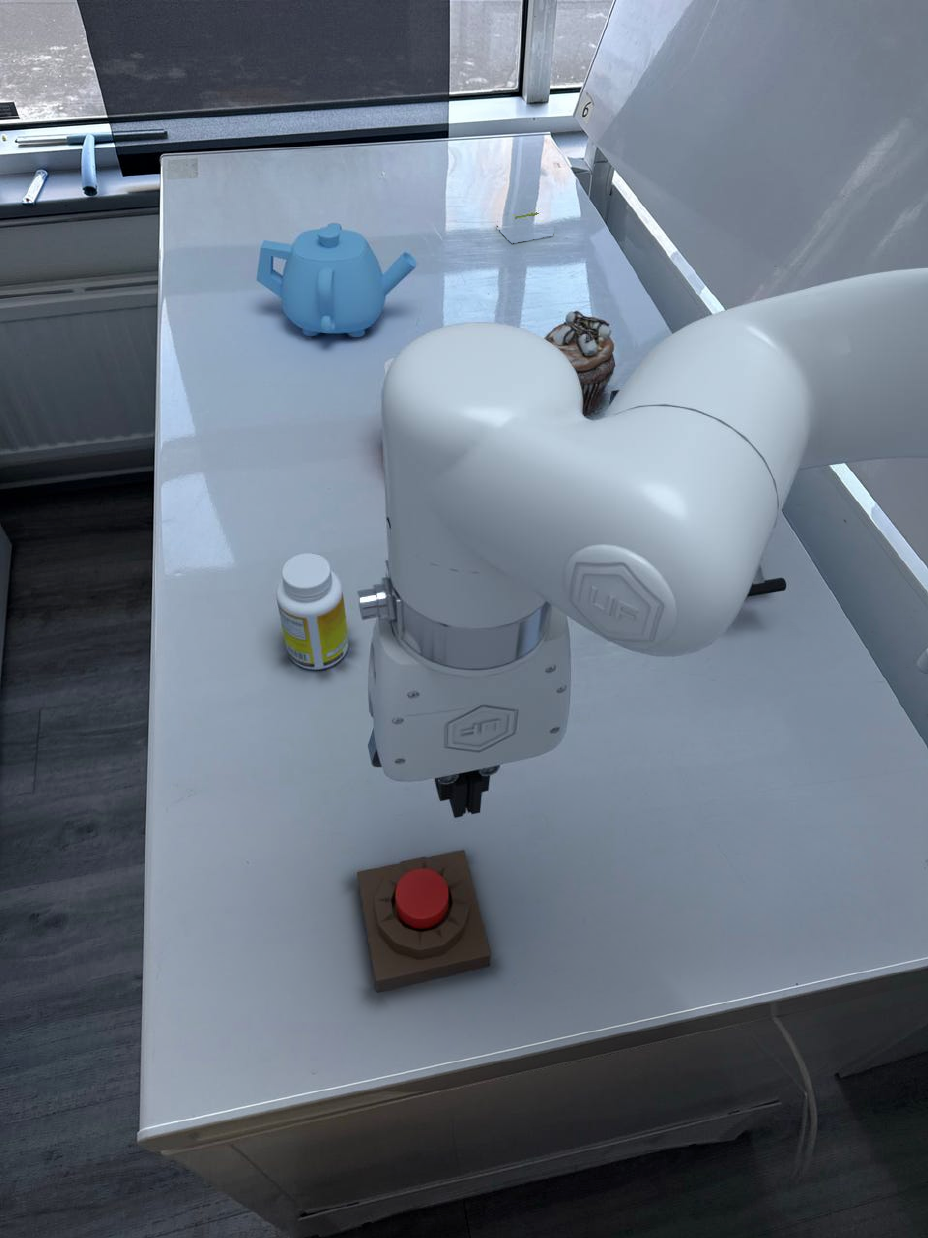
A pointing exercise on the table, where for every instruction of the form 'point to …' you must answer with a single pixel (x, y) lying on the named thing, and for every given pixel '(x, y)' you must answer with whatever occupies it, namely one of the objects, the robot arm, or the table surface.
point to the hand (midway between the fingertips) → (460, 794)
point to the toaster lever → (766, 585)
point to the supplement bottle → (312, 612)
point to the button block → (422, 951)
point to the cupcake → (586, 354)
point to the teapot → (330, 280)
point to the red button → (421, 898)
